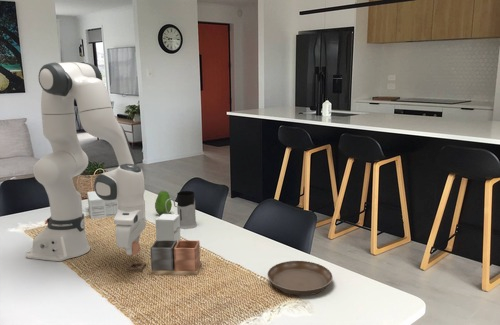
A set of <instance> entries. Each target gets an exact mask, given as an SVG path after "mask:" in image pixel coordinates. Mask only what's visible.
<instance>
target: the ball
mask: <svg viewBox="0 0 500 325" xmlns="http://www.w3.org/2000/svg"><path fill="white" fill-rule="evenodd" d="M132 248H133V253H132V254H131V255H130V256H136V255H138V254H139V253H140V250H141V245H140V242H139V243H138V242H136V241H134V242H133V243H132ZM124 250H125V251H126V248H124Z"/></svg>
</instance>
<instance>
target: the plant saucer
mask: <svg viewBox="0 0 500 325" xmlns="http://www.w3.org/2000/svg"><path fill="white" fill-rule="evenodd" d="M267 277H268V280H269V282H270V283H271V284H272V285H273V286H274V287H275V288H276V289H278V290H279V291H281V292H283V293H286V294H289V295H293V296H311V295H314V294H318V293H320V292H322V291H323V290H325V289H326V288H327V287H328V286H329V285H330V284H331V283H332V280H333V274H332V272H331V271H330V270H329V269H328V268H327V267H326V266H324V265H321V264H320V263H316V262H312V261H307V260H289V261H283V262H280V263H276V264H274V265H273V266H272V267H271V268H269V270H268V271H267Z"/></svg>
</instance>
